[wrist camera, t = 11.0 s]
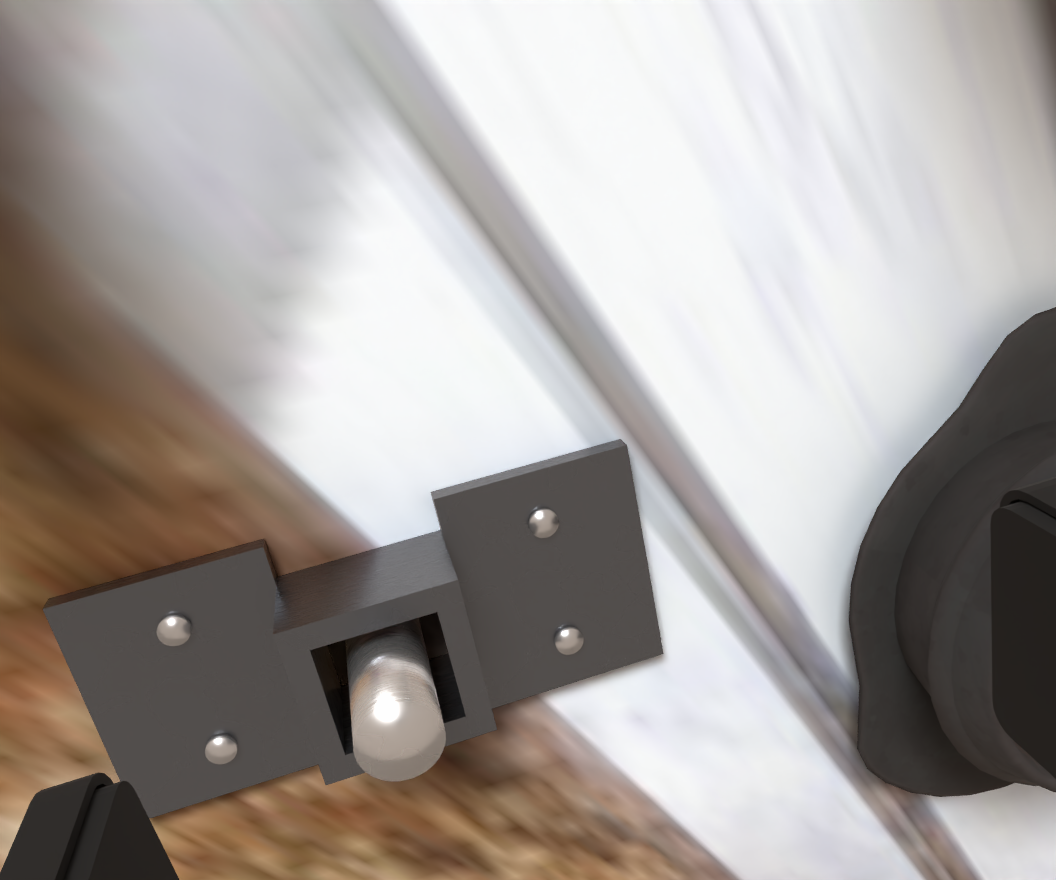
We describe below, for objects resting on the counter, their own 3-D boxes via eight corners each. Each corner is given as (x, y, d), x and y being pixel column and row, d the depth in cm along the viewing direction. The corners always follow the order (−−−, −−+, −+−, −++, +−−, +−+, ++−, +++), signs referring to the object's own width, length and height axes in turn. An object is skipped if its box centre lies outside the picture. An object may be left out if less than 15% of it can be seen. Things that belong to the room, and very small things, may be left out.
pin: (408, 580, 36) (434, 690, 29) (425, 642, 37) (454, 764, 30) (335, 601, 36) (342, 719, 28) (355, 664, 37) (366, 793, 29)
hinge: (620, 439, 36) (660, 475, 32) (656, 644, 40) (697, 701, 36) (48, 598, 33) (10, 663, 29) (142, 808, 36) (120, 893, 32)
